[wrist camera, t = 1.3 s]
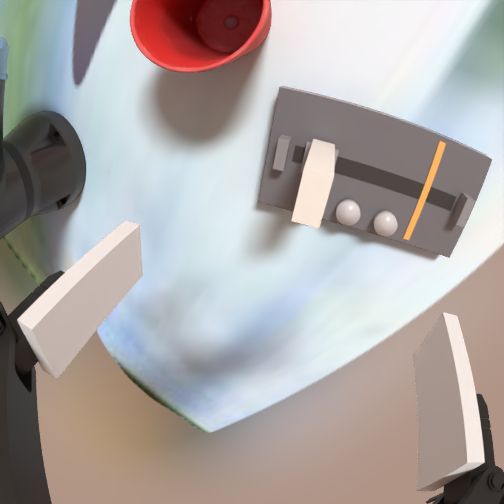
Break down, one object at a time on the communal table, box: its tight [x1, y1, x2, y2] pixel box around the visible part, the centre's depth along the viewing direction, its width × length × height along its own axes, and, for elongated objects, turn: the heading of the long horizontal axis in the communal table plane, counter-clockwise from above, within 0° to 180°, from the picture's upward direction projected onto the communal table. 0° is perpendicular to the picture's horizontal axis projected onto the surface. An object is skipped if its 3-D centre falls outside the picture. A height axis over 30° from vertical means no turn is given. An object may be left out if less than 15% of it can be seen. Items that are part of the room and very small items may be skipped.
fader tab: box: [291, 139, 339, 228], centre depth 25 cm, size 3×4×10 cm
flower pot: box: [130, 0, 272, 73], centre depth 21 cm, size 11×11×10 cm
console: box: [258, 86, 492, 257], centre depth 28 cm, size 22×12×4 cm, turn 81°
